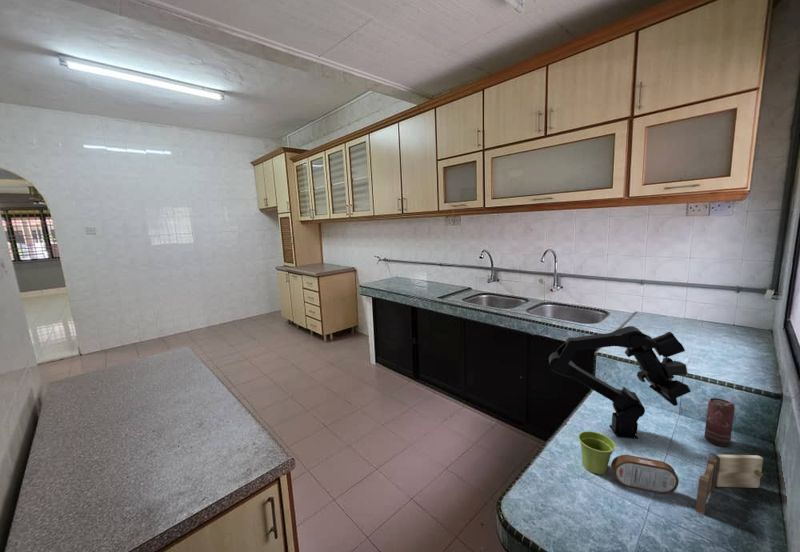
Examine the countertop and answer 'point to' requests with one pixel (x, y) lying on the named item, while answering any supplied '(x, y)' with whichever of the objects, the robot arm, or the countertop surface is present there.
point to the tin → (644, 474)
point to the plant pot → (595, 451)
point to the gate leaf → (738, 470)
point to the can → (719, 422)
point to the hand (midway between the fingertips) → (675, 405)
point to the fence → (706, 485)
